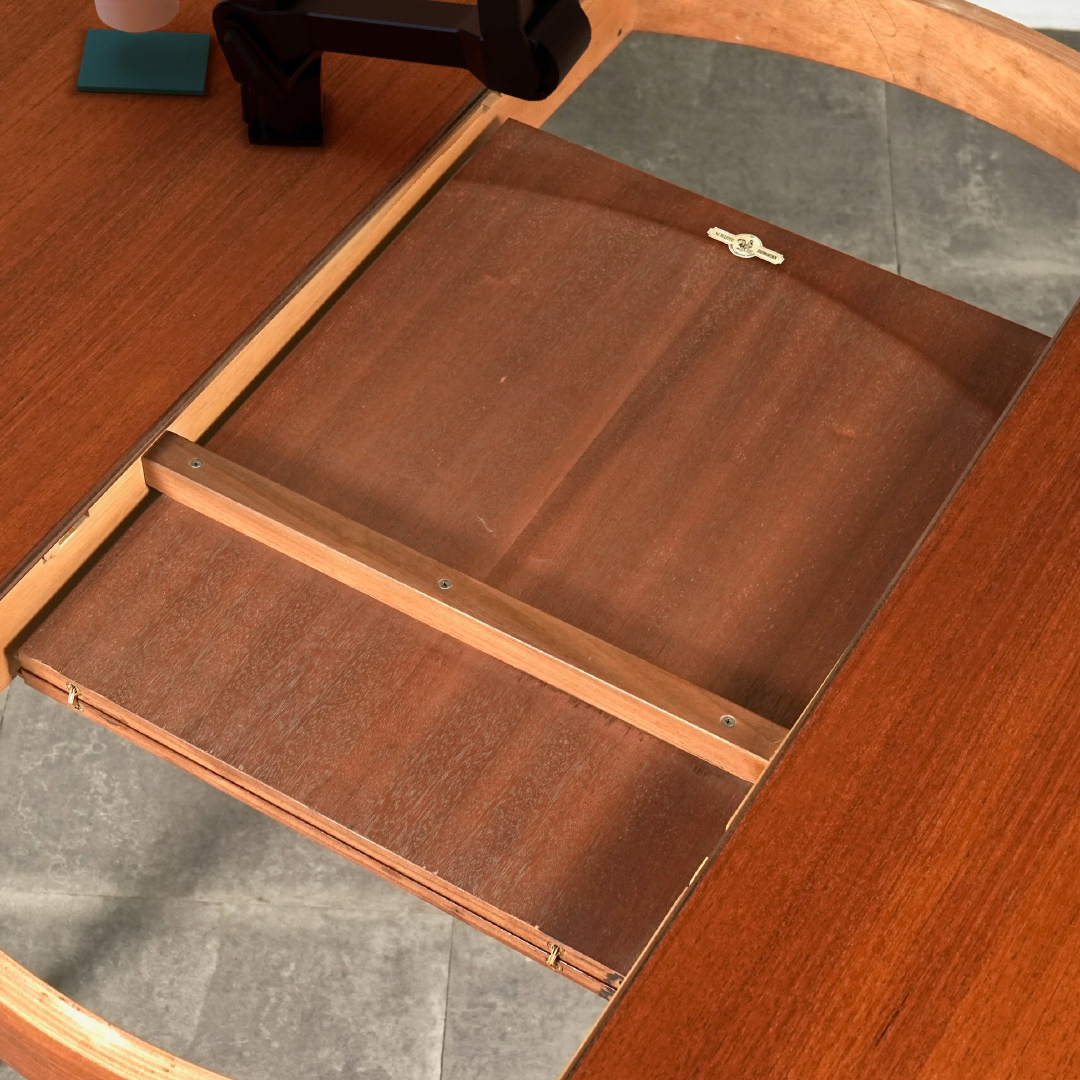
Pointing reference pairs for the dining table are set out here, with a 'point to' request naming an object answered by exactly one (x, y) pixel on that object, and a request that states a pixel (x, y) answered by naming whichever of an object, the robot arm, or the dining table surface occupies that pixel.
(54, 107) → the dining table surface
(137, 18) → the can
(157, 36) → the teal mat
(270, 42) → the robot arm
